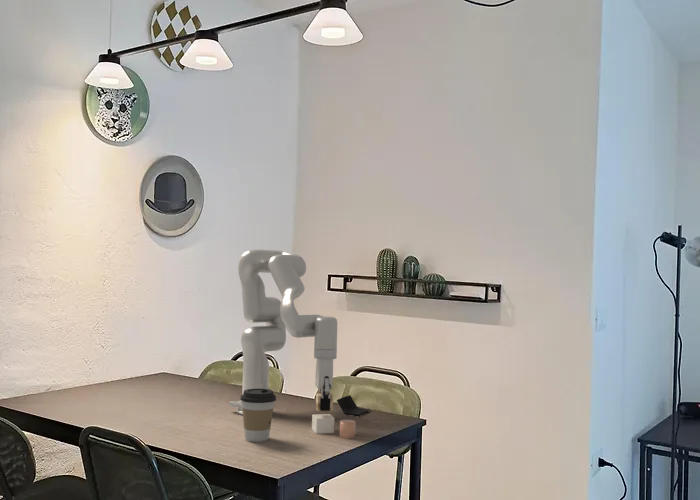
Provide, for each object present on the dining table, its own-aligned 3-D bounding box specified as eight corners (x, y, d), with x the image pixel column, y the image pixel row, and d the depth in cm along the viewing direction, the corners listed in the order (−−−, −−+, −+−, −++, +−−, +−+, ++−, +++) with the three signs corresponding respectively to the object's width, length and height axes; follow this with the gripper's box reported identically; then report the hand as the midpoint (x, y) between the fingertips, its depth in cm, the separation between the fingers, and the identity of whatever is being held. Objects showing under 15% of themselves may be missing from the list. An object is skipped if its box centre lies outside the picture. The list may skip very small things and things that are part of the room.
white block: (316, 433, 224) (316, 418, 224) (311, 429, 229) (312, 414, 229) (333, 433, 225) (334, 417, 226) (328, 428, 231) (329, 414, 231)
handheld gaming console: (363, 413, 250) (349, 389, 253) (348, 423, 251) (334, 400, 254) (372, 411, 261) (358, 389, 264) (357, 422, 262) (343, 399, 265)
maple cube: (317, 411, 225) (317, 396, 225) (315, 408, 229) (316, 393, 230) (332, 411, 225) (332, 396, 225) (330, 408, 230) (330, 393, 230)
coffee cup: (276, 443, 210) (278, 394, 210) (239, 444, 207) (241, 394, 208) (273, 434, 221) (274, 387, 221) (237, 434, 218) (239, 387, 219)
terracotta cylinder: (340, 439, 218) (341, 423, 218) (338, 435, 223) (338, 419, 223) (356, 438, 218) (356, 423, 219) (353, 434, 223) (354, 419, 224)
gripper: (311, 350, 236) (310, 403, 235) (317, 357, 219) (315, 414, 218) (333, 350, 237) (331, 403, 236) (340, 357, 220) (338, 414, 220)
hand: (324, 408), depth 227 cm, fingers closed on maple cube, 5 cm apart
